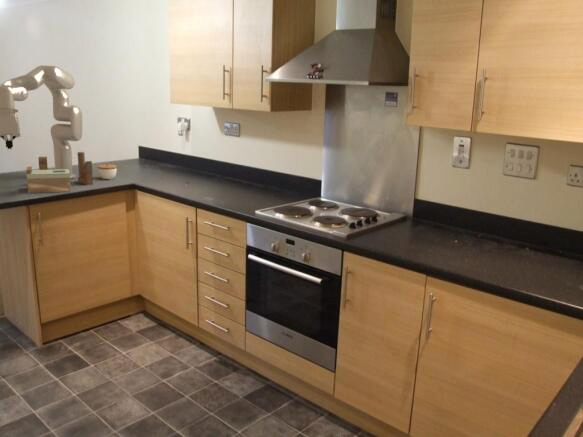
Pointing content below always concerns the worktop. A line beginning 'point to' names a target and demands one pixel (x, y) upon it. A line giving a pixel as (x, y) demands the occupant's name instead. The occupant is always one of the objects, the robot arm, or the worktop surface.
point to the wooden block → (84, 170)
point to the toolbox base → (48, 185)
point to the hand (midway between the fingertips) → (9, 148)
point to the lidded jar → (107, 171)
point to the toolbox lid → (47, 173)
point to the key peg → (42, 163)
